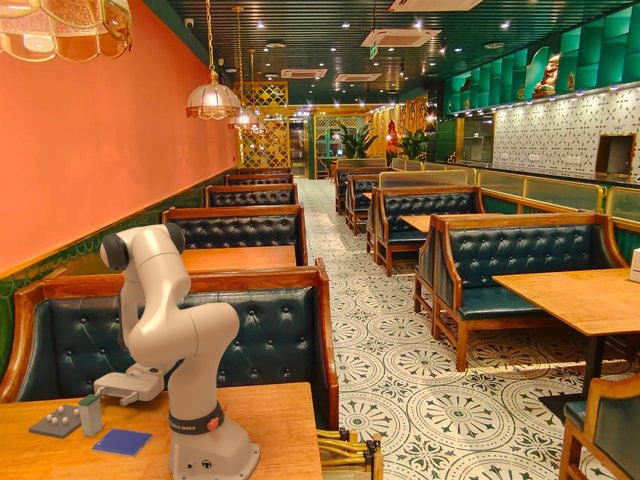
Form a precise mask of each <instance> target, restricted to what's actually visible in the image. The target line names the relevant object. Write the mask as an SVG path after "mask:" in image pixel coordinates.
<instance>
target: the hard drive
mask: <svg viewBox="0 0 640 480" xmlns="http://www.w3.org/2000/svg"><path fill="white" fill-rule="evenodd" d="M153 438H154V434H153V433H147V432H142V431H141V432H140V431H135V430H134V431H133V430H129V429H128V430H127V429H122V428H111V429H110V430H109V431H108V432H107V433H106V434H105V435H104V436H103V437H101V438H100V440H98V441H97V442H96V443H95V444H94V445H93V446H92V447H91V451H93V452H98V453H103V454H104V453H105V454H109V455H116V456H117V455H118V456H122V457H129V458H135V457H136V456H137V455H138V454H139V453H140V452H141V451H142V449H143V448H144V447H145V446H146V445H147V444H148V443H149V442H150V441H151V440H152V439H153Z"/></svg>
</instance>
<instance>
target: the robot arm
mask: <svg viewBox="0 0 640 480" xmlns="http://www.w3.org/2000/svg"><path fill="white" fill-rule="evenodd" d="M100 241H101V242H100V248H99V251H100V258H101V260H102V262H103V263H104V264H105V266H106V267H107V268H108V269H109V270H111V271H113V272H123V278H124V283H123V284H122V285H121V287H119V291H118V297H117V298H118V299H117V301H118V303H117V304H118V325H119V326H118V328H119V329H118V333H117V341H118V345H119V347H120V349H121V350H123V351H125V352H129V353H130V356H131V357H132V359H133V361H134V362H135V363H134V364H132V365H131V366H130V367H129V368H127V369H126V371H125V373H122V372H110V373H107V374H105V375H103V376H101V377H100V378H97V379H96V380H95V381H94V383H93V390H94V393H95V394H93V395H97V396H99V401H100V400H101V401H102V396H111V397H117V398H121V399H119V405H120V406H124V407H126V406H127V405H128V404H131V403H133V402H136V401H143V402H144V401H145V402H150V401H152V400H154V399H155V398H156V397H157V396H158V395H159V394H160V392H163V390H164V389H165V380H164V376H165V375H166V374H168V373H169V372H170V371H171V370H172V369H173V368H174V367H175V365H176V364H177V362H178V361H180V360H183V359H184V360H183V361H182V363H181V364H180V365H179V366H178V367H177V368H176V369H175V370H174V371H173V372H172V373H171V375H170V377H169V379H168V383H167V392H168V393H167V394H168V402H169V404H168V405H169V409H168V423H169V428H170V431H171V432H170V433H171V443H170V451H169V458H168V461H167V462H168V470H169V471H170V472H171V473H172V475H173V476H172V477H173V478H172V479H173V480H247V479H248V478H249V477H250V475H252V473H253V472H254V470H255V469H256V467H257V465H258V463H259V461H260V457H261V449H260V446H259V444H257V443H253V442H251V440H250V436H249V433H248V432H247V431H246V429H245V428H243V427H241V426H240V425H239V424H238V422H236V421H233V420H232V419H231V418H229V417H228V416H227V415H225V413H226V412H227V411H228V405H227V404H226V405H225V406H224V407H222V405H221V404H220V402H219V400H218V398H217V374H218V368H219V365H220V362H221V359H222V357H223V355H224V353H225V352H226V351H227V348H228V346H229V345H230V344H231V343H232V341H234V339H235V338H237V335H238V333H239V329H240V317H239V315H238V313H237V311H236V310H235V308H234V307H233V306H232V305H231V304H229V303H228V302H207V303H204V304H200V305H196V306H191V307H189V308H184V309H179V307H178V303H180V302H181V301H182V300H183V299H184V298H185V297H186V296H187V295H188V293H189V291H190V290H191V288H192V287H191V286H192V279H191V277H190V274H189V272H188V270H187V267H186V266H185V262H184V260H183V259H182V255H183V253H184V252H185V249H186V238H185V235H184V232H183V230H182V228H180V226H179V225H177V224H176V223H175V222H163V223H162V224H151V225H145V226H137V227H133V228H128V229H126V230H122V231H119V232H113V233H110V234H108V235H105V236H103V238H102V240H100ZM142 302H145V307H144V311H143V313H142V316H141V318H140V319H139V318H138V303H142Z"/></svg>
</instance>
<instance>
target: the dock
mask: <svg viewBox="0 0 640 480" xmlns="http://www.w3.org/2000/svg"><path fill="white" fill-rule="evenodd" d="M79 427H82V425H81V418H80V412H79V406H77V405H70V404H62V405H61V406H59V407H57V409H54V410H53V411H52V412H51V413H49V414H48V413H47V414H46V416H45V417H44V418H42V419H40V420H38V422H36V423H34V424H33V425H32V426H30V427H29V428H28V433H33V434H38V435H42V436H48V437H53V438H58V439H63V440H64V439H65V438H67V437H68V436H69V435H70V434H72V433H73V432H74V431H76V430H77V429H78V428H79Z"/></svg>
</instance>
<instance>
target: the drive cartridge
mask: <svg viewBox="0 0 640 480" xmlns="http://www.w3.org/2000/svg"><path fill="white" fill-rule="evenodd" d="M77 404H78V407H79V412H80V418H81V430H82V436H85V437H90V438H93V437H94V436H95V435H96V434H98V433H99V432H100V431H101V430H102V429H104V426H103V417H102V410H101V404H100V400H99V396H97V395H94V394H90V393H89V394H88V395H87V396H85V397H83V398H82V399H81V400H80V401H78V402H77Z"/></svg>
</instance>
